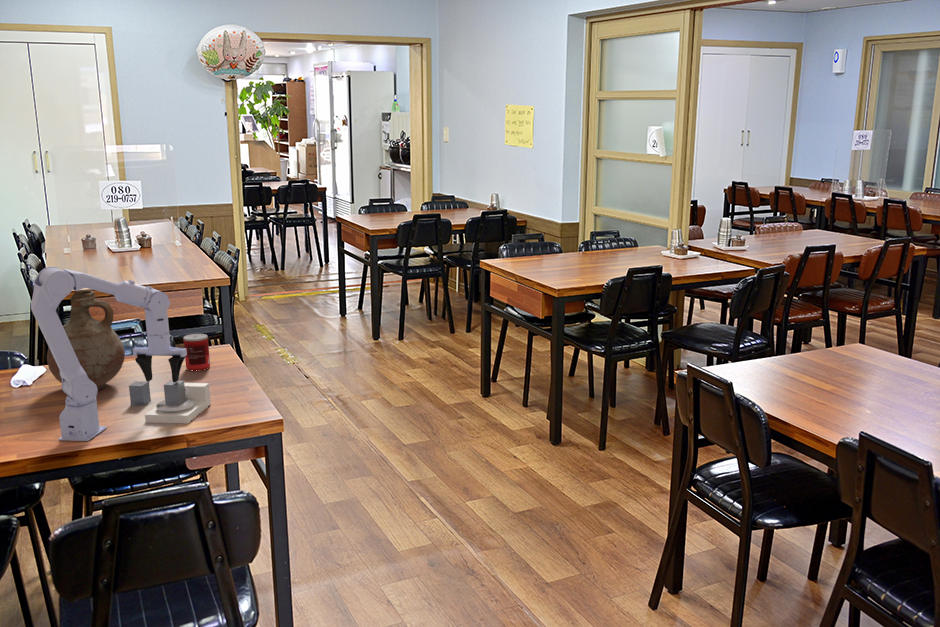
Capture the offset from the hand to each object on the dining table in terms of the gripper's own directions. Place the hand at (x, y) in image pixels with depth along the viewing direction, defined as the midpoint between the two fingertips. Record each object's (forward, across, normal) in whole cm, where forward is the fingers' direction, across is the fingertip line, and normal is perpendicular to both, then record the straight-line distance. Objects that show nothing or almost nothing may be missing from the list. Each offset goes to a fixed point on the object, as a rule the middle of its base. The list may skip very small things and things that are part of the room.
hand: (162, 380), depth 219 cm
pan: (+7, -3, 0) cm, 8 cm away
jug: (+10, +35, -21) cm, 42 cm away
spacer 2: (+6, -3, 0) cm, 7 cm away
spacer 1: (+10, +12, -8) cm, 18 cm away
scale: (+10, -3, -1) cm, 10 cm away
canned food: (+10, +10, -44) cm, 46 cm away
